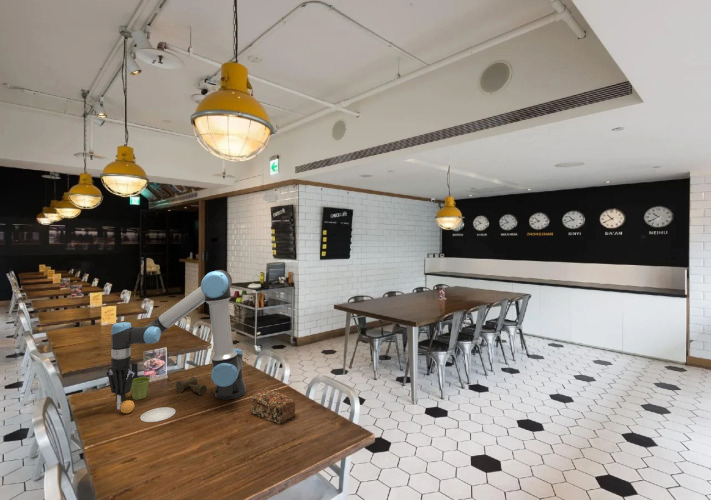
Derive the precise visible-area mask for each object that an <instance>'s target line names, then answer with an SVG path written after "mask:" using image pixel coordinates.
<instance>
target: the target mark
mask: <svg viewBox="0 0 711 500" xmlns="http://www.w3.org/2000/svg"><path fill="white" fill-rule="evenodd" d="M175 414H176V409H175V408H173V407H165V406H162V407H156V408H153V409H150V410H147V411H145V412H143V413H142V414H141V415H140V417H139V418H140V420H141V421H142V422H145V423H156V422H160V421H165V420H167V419H169V418H171V417H173V416H174V415H175Z"/></svg>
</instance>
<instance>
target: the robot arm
mask: <svg viewBox="0 0 711 500" xmlns="http://www.w3.org/2000/svg"><path fill="white" fill-rule="evenodd" d="M232 279H233V278H232V276H231V274H230V273H229V272H227V271H226V270H223V269H217V270H214V271H210V272H208V273H206V275H204V276H203V278H202V280H201V282H200V286H199V287H198V288H196V289H195V290H194V291H192V292H191V293H190V294H188V295H186V296H185V297H183V299H181V300H180V301H178V302H177V303H175V304H174V305H173V306H171V307H170V308H169V309H167V310H166V311H165V312H163V313H162V314H159V316H158V317H156V318H154V320H152V321H151V322H149V323H148V324H146V325H144V326H135V327H134V326H132V323H131V322H127V321H122V322H117V323H114V324H112V326H111V333H110V335H111V339H110V341H111V344H110V345H111V351H110V352H111V353H110V354H111V359H110V360H111V361H110V367H111V368H110V369H111V370H109V371H107V372H106V375H107V378H108V382H109V387H110V391H111V394H115V402H116V410H120V411H121V409H120V407H121V404H122V403H123V402H125V401H127V400H126V397H127V395H126V394H128V393H130V392H131V385H132V381H133V379H134V377H135V375H136V371H132V368H131V364H132V363H131V362H132V361H131V360H132V359H131V355H132V345H133V344H134V345H137V344H139V345H141V344H147V345H151V344H157V343H158V342H159V341H160V339H161V335H162V334H163V333H164V332H166V331H167V330H168V329H170V328H171V327H173V326H174V325H175V324H176V323H178V322H179V321H181V320H182V319H183V318H185V317H186V316H188V315H189V314H190V313H192V312H193V311H194V310H196V309H197V308H199V306H201V305H203V304H204V303H205V302H206V304H208V308H209V317H210V325H211V335H212V343H213V344H212V345H213V351H214V353H213V355H212V357H211V366H212V370H211V374H210V377H211V381H212V382H213V383H214V385H216V387H215V390H214V397H215V398H216V399H219V400H225V401H226V400H235V399H238V398H241V397H243V396H245V394H246V393H247V392H246V391H247V389H246V384H245V381H244V379H243V356H244V354H243V349H241V348H237V347H234V343H233V334H232V325H231V316H230V308H229V307H230V306H229V301H230V300H231V298H232V295H231V287H232V284H233V280H232Z"/></svg>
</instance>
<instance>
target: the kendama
mask: <svg viewBox="0 0 711 500" xmlns="http://www.w3.org/2000/svg"><path fill="white" fill-rule="evenodd" d="M186 388H190V389H192V390H193V392H194V393H197V395H199V396H203V395H205V394H206V393H207V390H208V387H207V385H206V384H201V383H199V384H198V380H197V377H195V376H192V377H190V378H189V379H188V380H186V381H182V380H176V383H175V389H176V392H178V393H182V392H184V390H185V389H186Z"/></svg>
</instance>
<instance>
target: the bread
mask: <svg viewBox="0 0 711 500" xmlns="http://www.w3.org/2000/svg"><path fill="white" fill-rule="evenodd" d="M250 409H251V410H250V411H251V413H252V414H253V415H256V416H257V417H259V418H263V419H265V420H267V421H269V422H273V423H276V424H283V423H285V422H286V421H287V420H290V419H292V418H293V417H294V416H295V412H296V403H295V401H294V399H292V397H289V396H288V395H286V394H284V393H281V392H277V391H273V390H270V389H262V390H260V389H259V390H258V391H256V392H254V393H253V394H252V396H251V399H250Z"/></svg>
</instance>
